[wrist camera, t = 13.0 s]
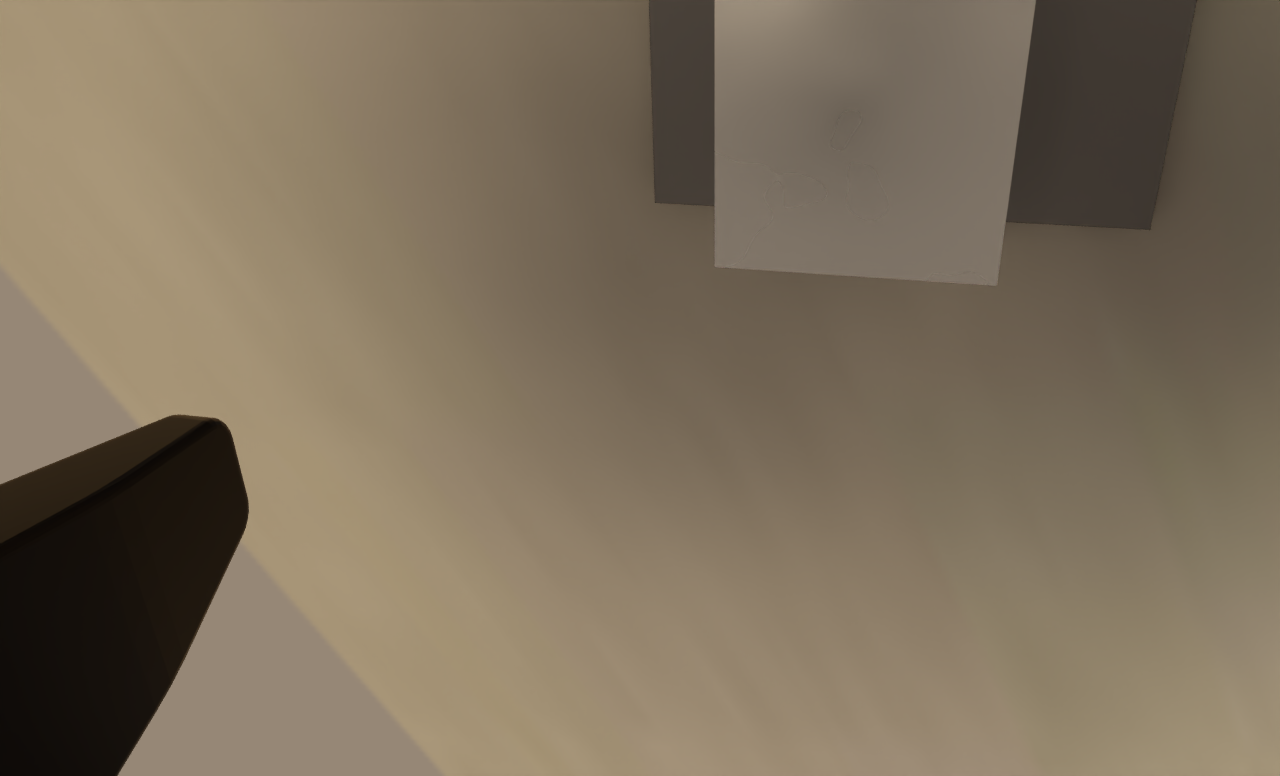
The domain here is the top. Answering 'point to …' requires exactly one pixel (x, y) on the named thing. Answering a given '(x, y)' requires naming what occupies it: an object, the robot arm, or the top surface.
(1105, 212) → the rubber pad
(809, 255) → the lever cap
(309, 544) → the top surface
